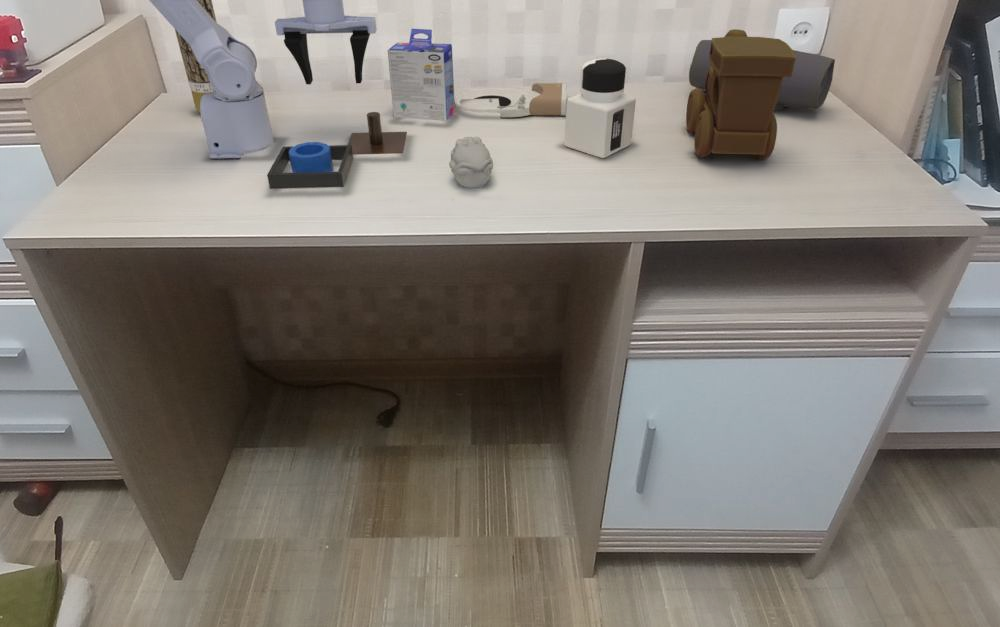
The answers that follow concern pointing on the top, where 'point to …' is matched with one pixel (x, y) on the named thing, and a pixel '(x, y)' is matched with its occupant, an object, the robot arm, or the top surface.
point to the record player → (521, 100)
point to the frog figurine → (471, 162)
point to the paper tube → (196, 63)
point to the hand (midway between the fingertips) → (334, 82)
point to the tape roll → (311, 158)
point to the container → (600, 110)
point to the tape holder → (377, 139)
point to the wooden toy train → (739, 95)
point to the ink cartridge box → (422, 78)
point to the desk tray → (310, 178)
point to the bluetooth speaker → (796, 90)
